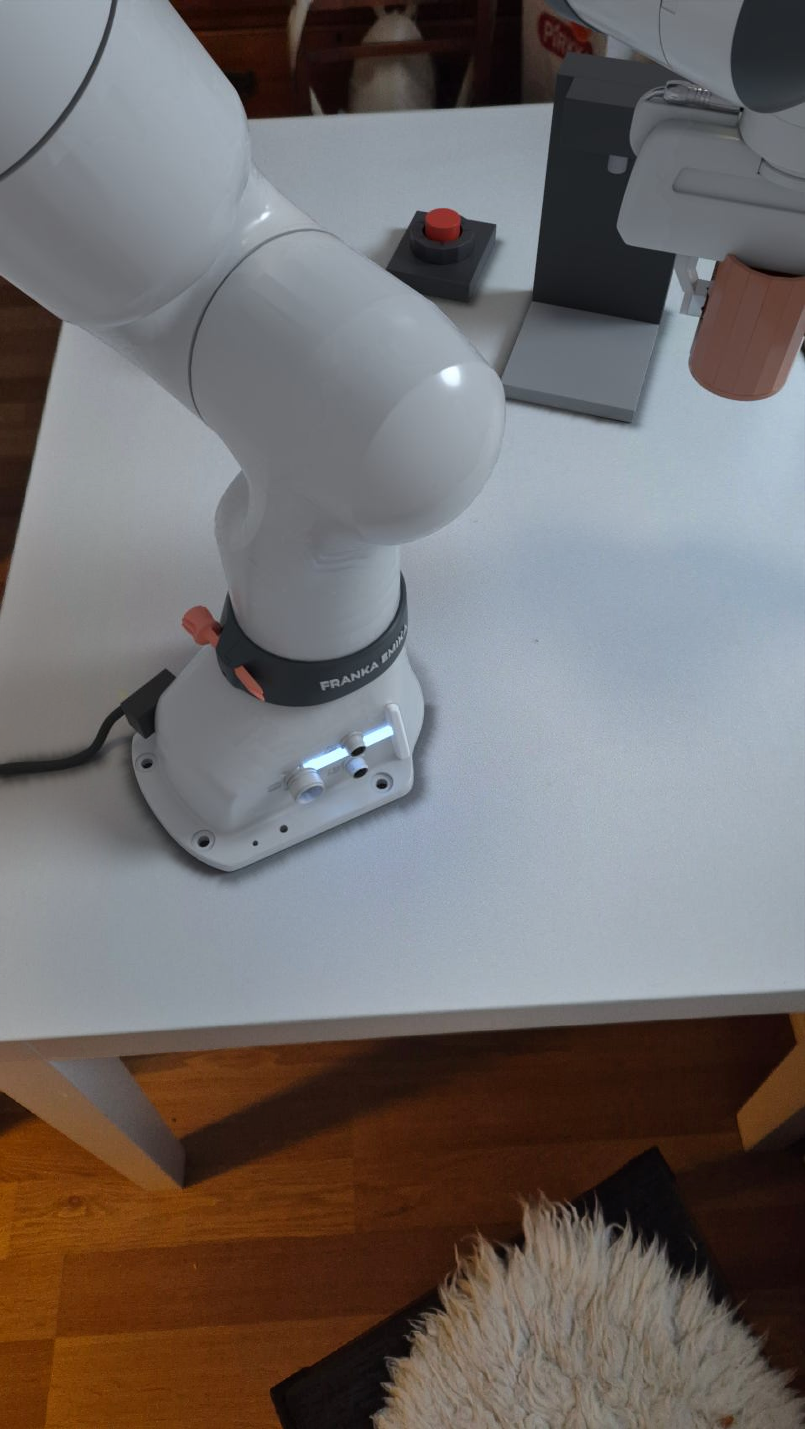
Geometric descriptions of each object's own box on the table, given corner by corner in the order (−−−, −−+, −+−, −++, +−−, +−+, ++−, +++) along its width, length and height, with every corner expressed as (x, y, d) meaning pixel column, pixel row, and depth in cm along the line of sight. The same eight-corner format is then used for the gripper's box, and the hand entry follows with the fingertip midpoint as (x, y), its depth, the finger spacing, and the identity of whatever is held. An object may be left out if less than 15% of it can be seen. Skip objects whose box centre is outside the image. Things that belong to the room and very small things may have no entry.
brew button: (454, 246, 104) (454, 230, 102) (420, 240, 104) (420, 224, 103) (463, 227, 106) (464, 211, 104) (430, 221, 106) (431, 205, 105)
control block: (468, 303, 104) (470, 268, 101) (385, 288, 106) (384, 253, 103) (495, 243, 110) (498, 207, 107) (416, 229, 112) (416, 194, 108)
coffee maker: (632, 423, 95) (688, 183, 75) (497, 396, 97) (518, 156, 77) (663, 313, 103) (720, 73, 84) (539, 290, 105) (567, 51, 86)
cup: (740, 415, 67) (784, 295, 60) (667, 362, 70) (700, 241, 63) (808, 375, 70) (858, 254, 62) (734, 325, 73) (774, 204, 65)
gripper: (630, 102, 56) (590, 321, 67) (1021, 163, 52) (908, 382, 64) (650, 49, 59) (609, 267, 70) (1019, 104, 55) (912, 322, 67)
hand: (753, 322), depth 67 cm, fingers closed on cup, 7 cm apart
